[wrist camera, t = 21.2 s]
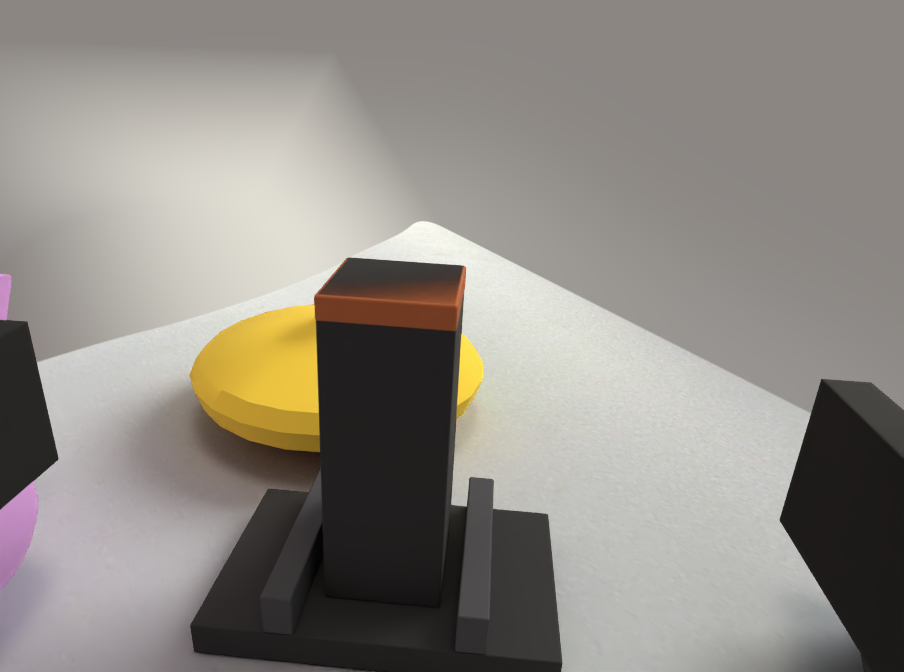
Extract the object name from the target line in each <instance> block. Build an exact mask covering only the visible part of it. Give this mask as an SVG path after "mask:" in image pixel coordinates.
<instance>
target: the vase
mask: <svg viewBox="0 0 904 672" xmlns="http://www.w3.org/2000/svg"><path fill="white" fill-rule="evenodd" d="M190 377H191V381H192V385H193V389H194V393H195V394H196V396H197V398H198V400H199V402H200V404H201V405H202V407H203V409H204V411H205V412H206V413H207V414H208V415H209V416H210V417H211V418H212V419H213V420H214V421H215V422H216V423H217V424H218V425H219V426H220V427H222V428H224V429H226V430H228V431H230V432H232V433H234V434H236V435H238V436H240V437H242V438H244V439H246V440H249V441H253V442H257V443H261V444H265V445H269V446H273V447H277V448H281V449H285V450H298V451H310V452H320V434H319V403H318V373H317V343H316V319H315V305H314V304H313V305H304V306H295V307H289V308H285V309H280V310H275V311H270V312H266V313H263V314H260V315H257V316H254V317H251V318H248V319H245V320H242V321H240V322H238V323H236V324H234V325H232V326H230V327H228V328H227V329H225V330H223V331H221V332H220V333H219V334H218V335H217V336H215V337H214V338H213V339H212V340H211V341H210V342H209V343H208V344H207V345H206V346H205V347H204V349H203V350H202V351H201V352H200V354H199V355H198V356H197V358H196V360H195V362H194V365H193V367H192V370H191V372H190ZM482 380H483V362H482V360H481V358H480V356H479V355H478V353H477V351H476V349H475V348H474V347H473V345H472V344H471V343H470V341H469V340H468V339H467V338H466V337H465V336H464V335H463V334H461V350H460V366H459V383H458V399H457V415H456V418H458V417H459V416H461V415H462V414H463V413H464V412H465V410H466V409H467V407H468V406H469V405H470V403H471V402H472V400H473V399H474V397H475V395H476V393H477V391H478V388H479V386H480V384H481V382H482Z"/></svg>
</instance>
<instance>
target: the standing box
mask: <svg viewBox="0 0 904 672" xmlns="http://www.w3.org/2000/svg"><path fill="white" fill-rule="evenodd" d="M465 278H466V267H465V266H460V265H446V264H432V263H418V262H404V261H390V260H376V259H362V258H346V260H345V261H344V262H343V263H342V264H341V265H340V267H339V268H338V269H337V270H336V271H335V273H334V274H333V275H332V276H331V277H330V278H329V280H328V281H327V282H326V283H325V284H324V285H323V287H322V288H321V289H320V290H319V291H318V292H317V294H316V295H315V297H314V305H315V319H316V343H317V373H318V403H319V434H320V464H321V494H322V524H323V554H324V584H325V596H326V597H334V598H344V599H354V600H364V601H374V602H384V603H394V604H404V605H414V606H424V607H434V608H439V607H440V604H441V595H442V587H443V579H444V571H445V563H446V555H447V546H448V538H449V529H450V513H451V497H452V480H453V464H454V448H455V431H456V415H457V399H458V383H459V366H460V350H461V334H462V317H463V301H464V289H465Z"/></svg>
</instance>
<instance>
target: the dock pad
mask: <svg viewBox="0 0 904 672" xmlns="http://www.w3.org/2000/svg"><path fill="white" fill-rule="evenodd" d="M493 487H494V481H493V479H485V478H474V477H470V479H469V490H468V501H467V507H465V506H454V505H451V513H450V529H449V538H448V546H447V555H446V563H445V571H444V579H443V587H442V595H441V604H440V607H439V608H434V607H424V606H414V605H404V604H394V603H384V602H374V601H364V600H354V599H344V598H334V597H326V596H325V584H324V554H323V524H322V494H321V468H320V470H319V472H318V475H317V477H316V479H315V481H314V483H313V485H312V487H311V490H310V492H300V491H289V490H278V489H268V490H267V492H266V493H265V495H264V497H263V499H262V500H261V502H260V504H259V506H258V507H257V509H256V511H255V513H254V515H253V516H252V518H251V520H250V522H249V523H248V525H247V527H246V529H245V530H244V532H243V534H242V536H241V537H240V539H239V541H238V543H237V544H236V546H235V548H234V550H233V551H232V553H231V555H230V557H229V558H228V560H227V562H226V564H225V565H224V567H223V569H222V571H221V572H220V574H219V576H218V578H217V579H216V581H215V583H214V585H213V586H212V588H211V590H210V592H209V593H208V595H207V597H206V599H205V600H204V602H203V604H202V606H201V607H200V609H199V611H198V613H197V614H196V616H195V618H194V620H193V621H192V623H191V626H190V627H191V634H192V641H193V648H194V651H195V652H203V653H213V654H222V655H232V656H241V657H251V658H260V659H270V660H279V661H289V662H298V663H308V664H317V665H327V666H336V667H346V668H355V669H365V670H374V671H384V672H561V668H562V655H561V644H560V634H559V624H558V613H557V603H556V592H555V582H554V571H553V561H552V551H551V540H550V530H549V519H548V514H542V513H531V512H520V511H509V510H498V509H493Z"/></svg>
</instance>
